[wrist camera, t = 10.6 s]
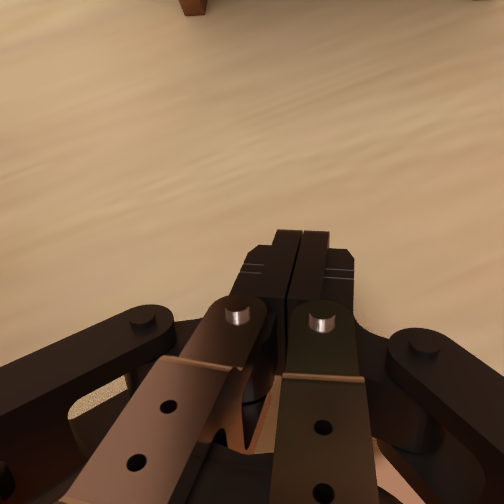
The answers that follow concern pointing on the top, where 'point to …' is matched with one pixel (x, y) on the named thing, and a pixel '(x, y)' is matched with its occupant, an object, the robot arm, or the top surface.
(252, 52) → the top surface
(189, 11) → the walnut cubby
